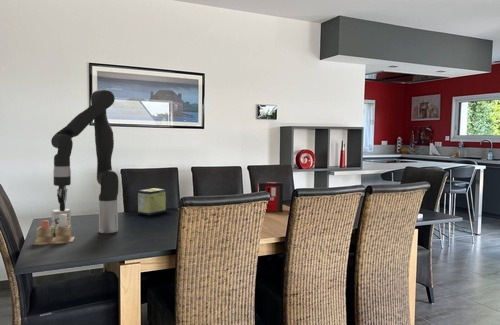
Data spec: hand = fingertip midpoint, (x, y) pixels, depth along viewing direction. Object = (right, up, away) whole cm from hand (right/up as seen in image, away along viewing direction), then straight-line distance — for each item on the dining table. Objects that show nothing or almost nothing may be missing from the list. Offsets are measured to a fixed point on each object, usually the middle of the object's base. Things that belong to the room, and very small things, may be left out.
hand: (62, 210), depth 191 cm
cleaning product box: (+105, -11, +82) cm, 134 cm away
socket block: (-4, -15, 0) cm, 15 cm away
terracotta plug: (-8, -13, -1) cm, 15 cm away
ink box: (-10, -14, +19) cm, 25 cm away
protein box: (+26, -10, +71) cm, 77 cm away
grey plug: (0, -10, +1) cm, 10 cm away
